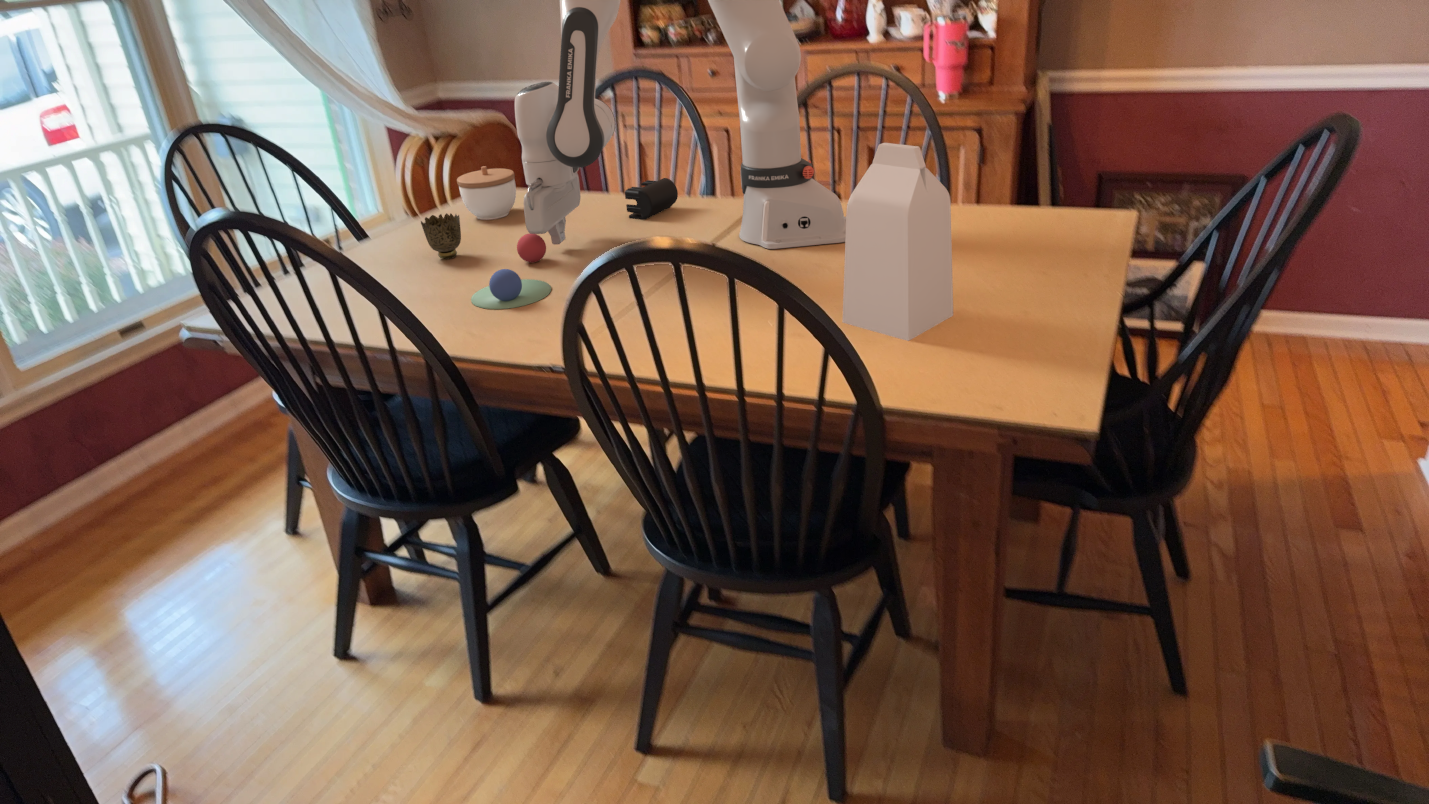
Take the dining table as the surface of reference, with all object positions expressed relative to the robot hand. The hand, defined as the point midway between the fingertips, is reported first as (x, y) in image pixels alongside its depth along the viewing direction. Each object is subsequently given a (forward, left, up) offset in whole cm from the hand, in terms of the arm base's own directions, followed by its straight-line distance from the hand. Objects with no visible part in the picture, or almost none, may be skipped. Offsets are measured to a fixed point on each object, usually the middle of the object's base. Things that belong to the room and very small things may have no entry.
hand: (559, 242), depth 188 cm
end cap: (-14, -23, -2) cm, 27 cm away
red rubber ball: (+3, +7, +1) cm, 7 cm away
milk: (-64, +39, -2) cm, 75 cm away
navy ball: (+2, +27, +1) cm, 27 cm away
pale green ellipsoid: (+2, +24, -2) cm, 24 cm away
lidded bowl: (+24, -27, -2) cm, 36 cm away
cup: (+23, +2, -2) cm, 23 cm away
